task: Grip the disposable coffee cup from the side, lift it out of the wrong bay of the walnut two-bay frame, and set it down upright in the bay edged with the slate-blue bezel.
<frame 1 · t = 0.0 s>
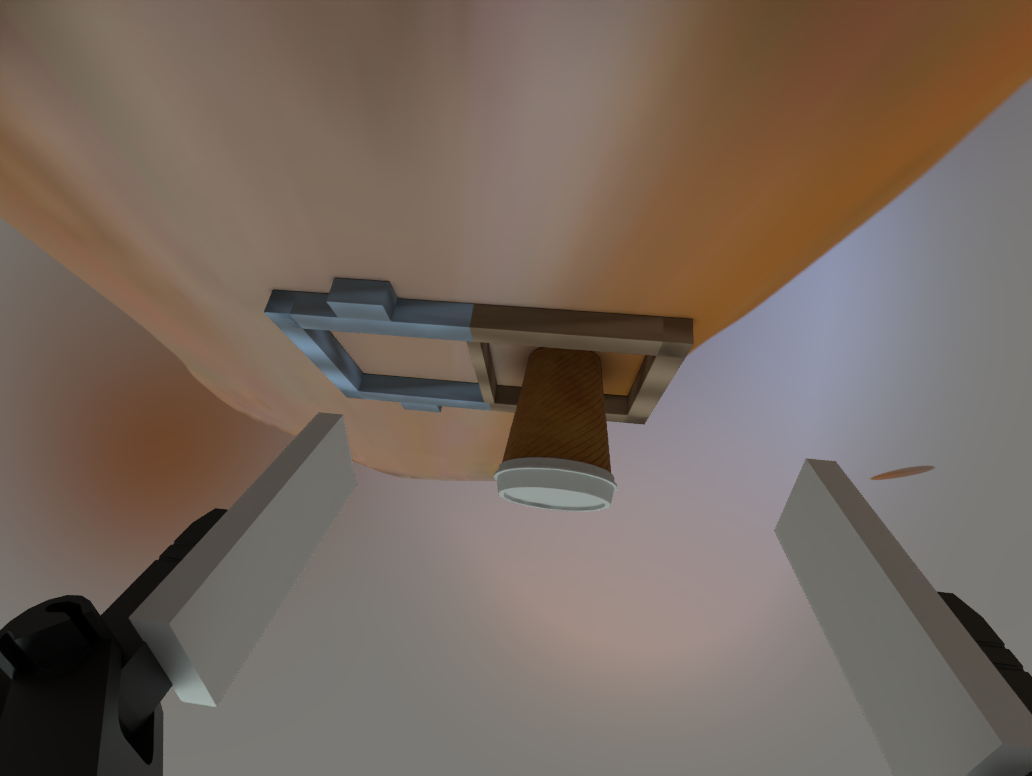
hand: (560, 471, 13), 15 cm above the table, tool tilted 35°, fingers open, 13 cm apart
two-bay frame: (485, 356, 40), on the table
disposable coffee cup: (564, 360, 40), resting in two-bay frame
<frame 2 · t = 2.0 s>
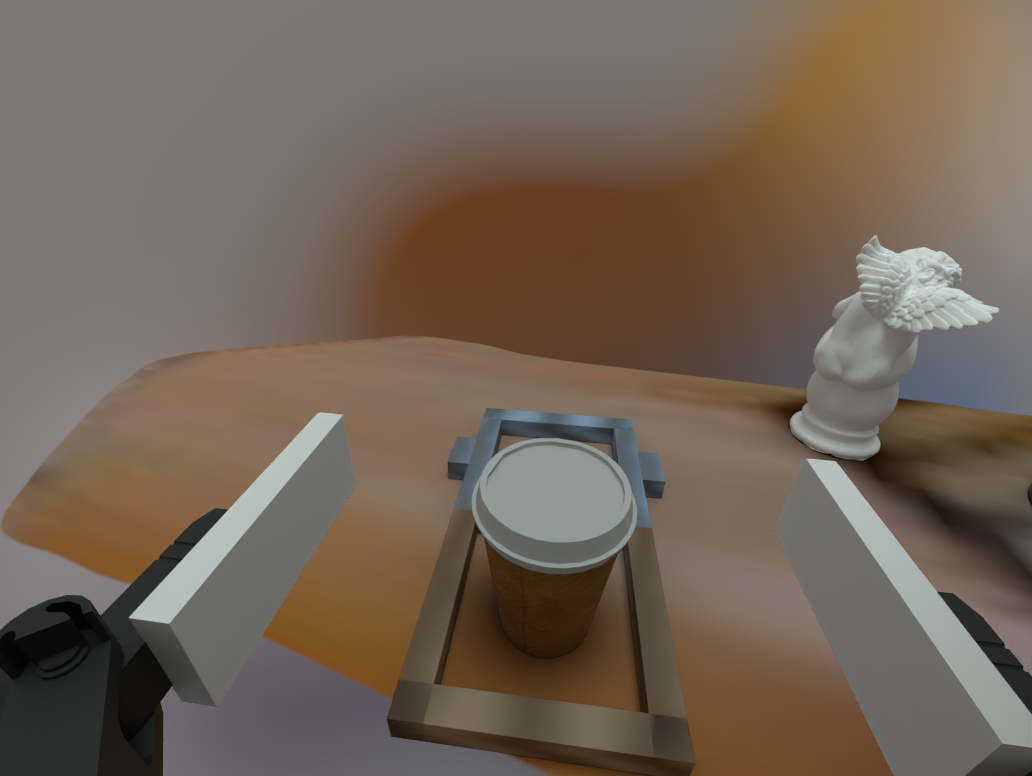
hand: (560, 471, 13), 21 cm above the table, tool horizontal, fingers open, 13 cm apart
two-bay frame: (549, 535, 38), on the table
disposable coffee cup: (544, 614, 32), resting in two-bay frame
cherub figurine: (842, 448, 49), on the table
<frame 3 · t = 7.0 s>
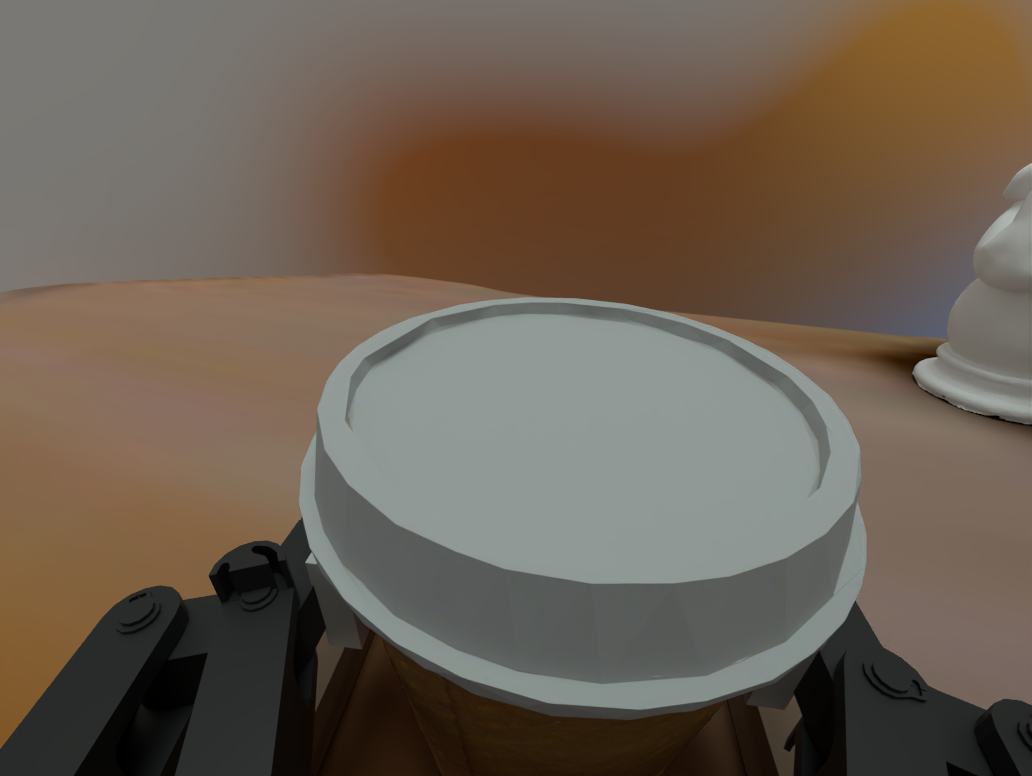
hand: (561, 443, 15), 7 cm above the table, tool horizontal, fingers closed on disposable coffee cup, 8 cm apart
two-bay frame: (550, 540, 20), on the table
disposable coffee cup: (538, 721, 14), resting in two-bay frame, touching gripper
cherub figurine: (1008, 410, 32), on the table
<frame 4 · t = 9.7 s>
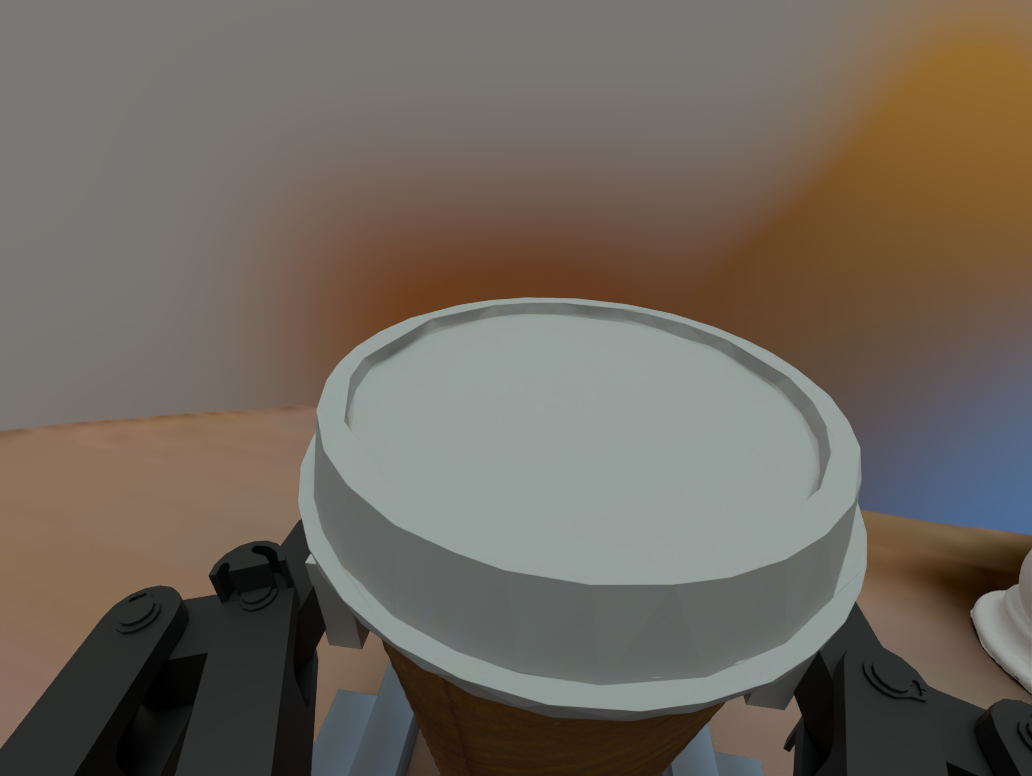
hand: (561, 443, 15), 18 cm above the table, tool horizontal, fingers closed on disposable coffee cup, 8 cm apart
disposable coffee cup: (537, 721, 14), point 10 cm above the table, touching gripper
when the fingers open (8 cm above the table, at t = 12.5 s): disposable coffee cup drops 1 cm, resting in two-bay frame.
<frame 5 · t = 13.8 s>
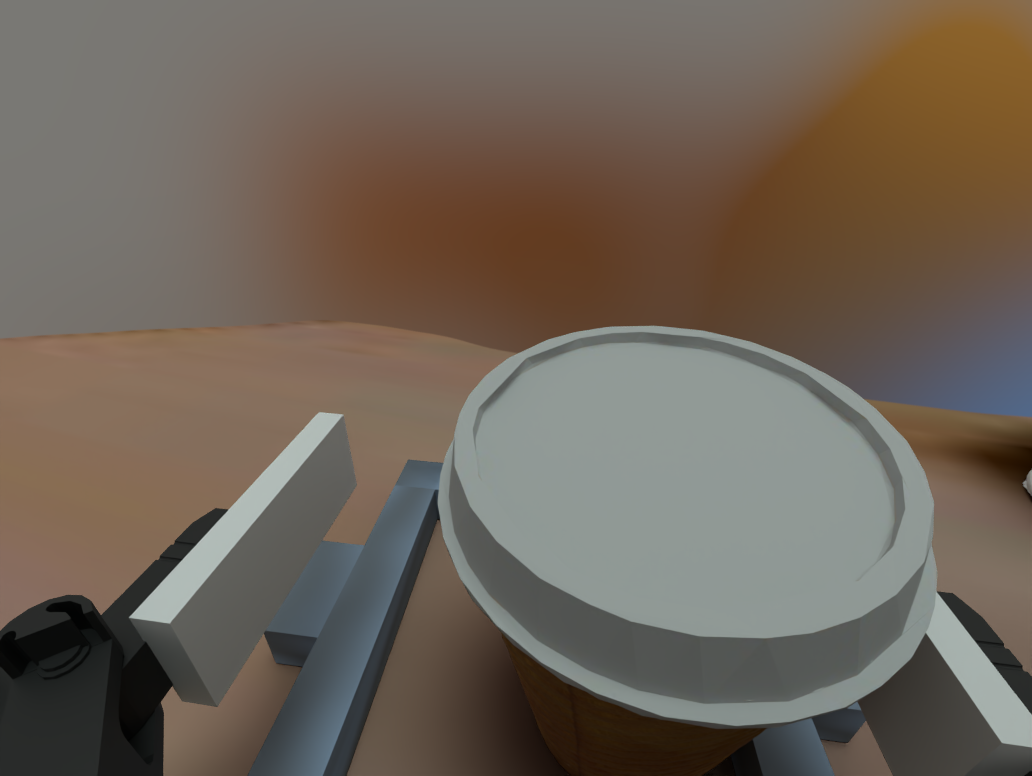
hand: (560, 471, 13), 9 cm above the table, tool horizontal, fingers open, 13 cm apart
disposable coffee cup: (619, 690, 16), resting in two-bay frame
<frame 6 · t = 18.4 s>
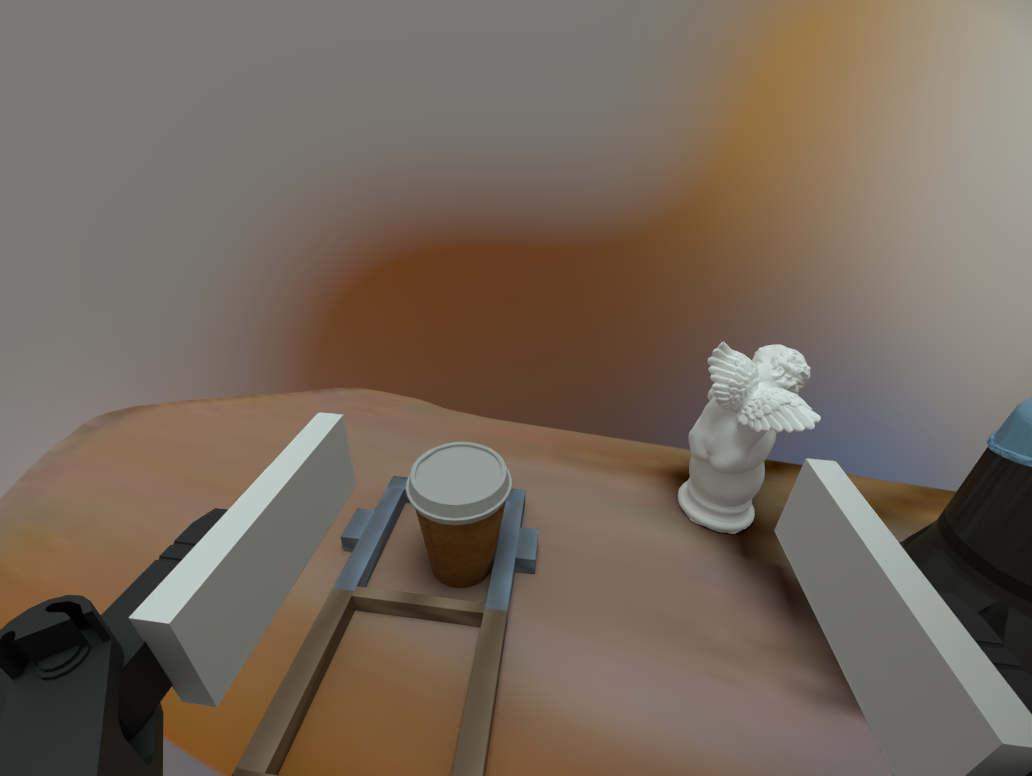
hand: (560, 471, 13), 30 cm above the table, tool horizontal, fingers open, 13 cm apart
two-bay frame: (420, 613, 42), on the table
disposable coffee cup: (462, 562, 47), resting in two-bay frame
cherub figurine: (721, 519, 53), on the table
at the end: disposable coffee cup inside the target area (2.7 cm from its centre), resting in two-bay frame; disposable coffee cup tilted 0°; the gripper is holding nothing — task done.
